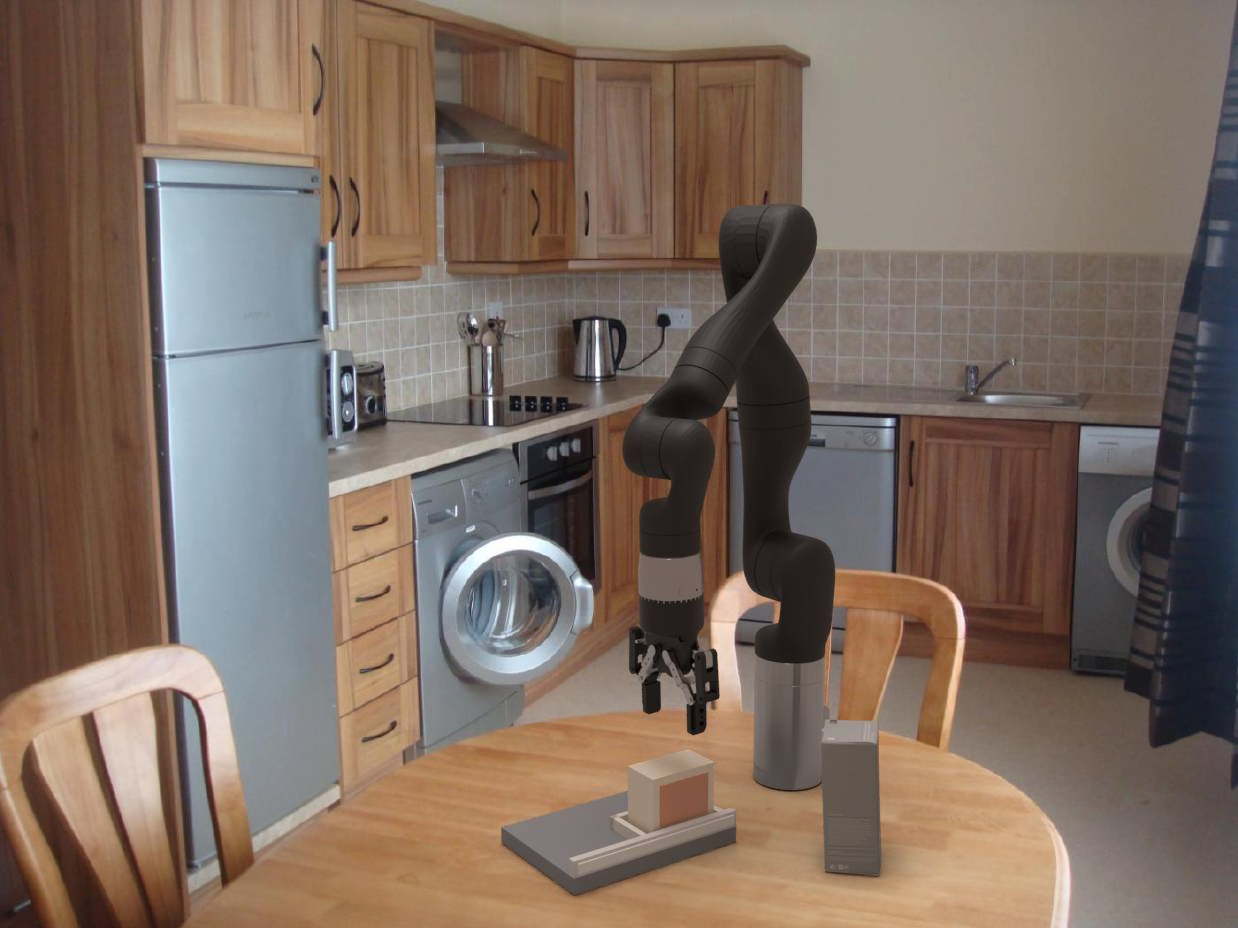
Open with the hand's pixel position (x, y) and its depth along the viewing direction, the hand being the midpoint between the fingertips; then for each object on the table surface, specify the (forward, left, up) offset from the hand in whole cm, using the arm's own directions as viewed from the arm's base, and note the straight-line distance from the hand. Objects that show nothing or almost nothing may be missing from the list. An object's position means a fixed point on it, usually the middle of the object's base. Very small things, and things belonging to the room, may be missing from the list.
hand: (673, 722), depth 160 cm
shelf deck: (+5, -4, -15) cm, 17 cm away
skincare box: (-14, +15, -15) cm, 26 cm away
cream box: (0, 0, -13) cm, 13 cm away
